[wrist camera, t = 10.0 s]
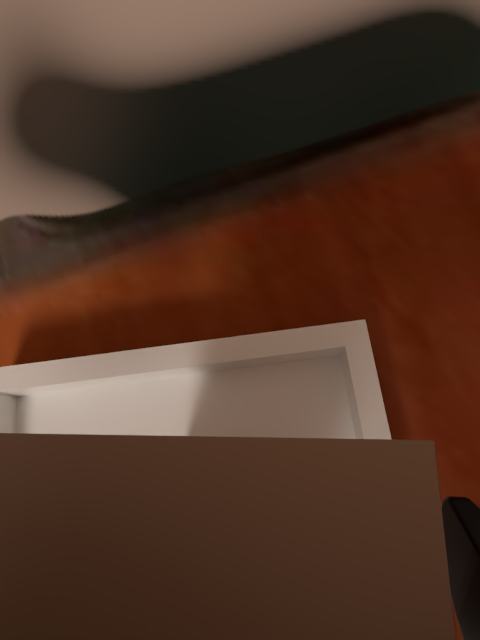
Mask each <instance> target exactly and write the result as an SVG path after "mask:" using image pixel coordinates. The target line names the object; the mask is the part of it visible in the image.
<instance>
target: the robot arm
mask: <svg viewBox="0 0 480 640" xmlns="http://www.w3.org/2000/svg"><path fill="white" fill-rule="evenodd" d="M442 517H443V526H444V535H445V544H446V553H447V562H448V571H449V580H450V589H451V596H452V600H453V604H454V608H455V612H456V616H457V620H458V623H459V626H460V629H461V633H462V636H463V638H464V640H480V508H479V507H478V506H477V505H476V504H474V503H473V502H472V501H471V500H470V499H468V498H466V497H446V498H445V499H444V501H443V504H442Z"/></svg>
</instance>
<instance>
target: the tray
mask: <svg viewBox="0 0 480 640" xmlns="http://www.w3.org/2000/svg"><path fill="white" fill-rule="evenodd" d="M0 433H28V434H89V435H150V436H212V437H273V438H334V439H391V434H390V430H389V425H388V421H387V416H386V412H385V407H384V403H383V398H382V393H381V389H380V384H379V380H378V375H377V371H376V366H375V361H374V357H373V352H372V348H371V343H370V339H369V334H368V330H367V325H366V320H365V319H364V320H356V321H349V322H341V323H333V324H326V325H318V326H310V327H303V328H295V329H288V330H280V331H272V332H265V333H257V334H249V335H242V336H234V337H227V338H219V339H211V340H204V341H196V342H188V343H181V344H173V345H166V346H158V347H150V348H143V349H135V350H127V351H120V352H112V353H105V354H97V355H89V356H82V357H74V358H66V359H59V360H51V361H44V362H36V363H28V364H21V365H13V366H5V367H0Z"/></svg>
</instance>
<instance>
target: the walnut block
mask: <svg viewBox="0 0 480 640" xmlns="http://www.w3.org/2000/svg"><path fill="white" fill-rule="evenodd" d="M0 640H456V635H455V626H454V616H453V607H452V598H451V589H450V580H449V571H448V562H447V553H446V544H445V535H444V526H443V517H442V508H441V499H440V490H439V481H438V472H437V463H436V453H435V444H434V440H395V439H334V438H273V437H212V436H150V435H89V434H28V433H0Z"/></svg>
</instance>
